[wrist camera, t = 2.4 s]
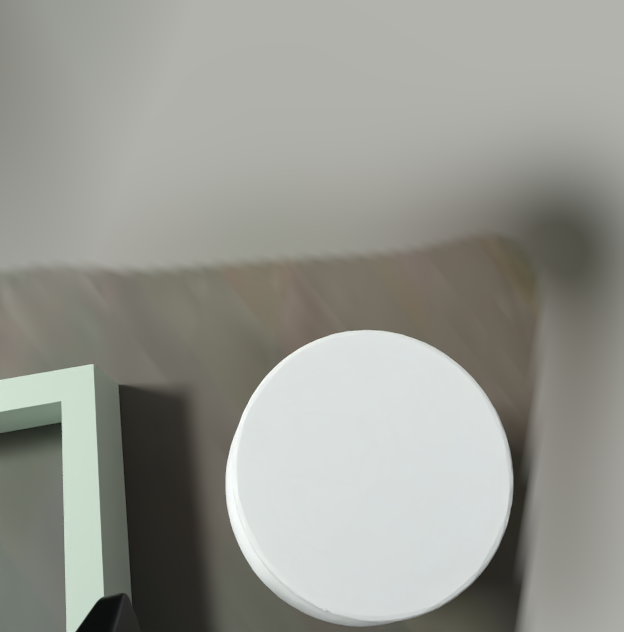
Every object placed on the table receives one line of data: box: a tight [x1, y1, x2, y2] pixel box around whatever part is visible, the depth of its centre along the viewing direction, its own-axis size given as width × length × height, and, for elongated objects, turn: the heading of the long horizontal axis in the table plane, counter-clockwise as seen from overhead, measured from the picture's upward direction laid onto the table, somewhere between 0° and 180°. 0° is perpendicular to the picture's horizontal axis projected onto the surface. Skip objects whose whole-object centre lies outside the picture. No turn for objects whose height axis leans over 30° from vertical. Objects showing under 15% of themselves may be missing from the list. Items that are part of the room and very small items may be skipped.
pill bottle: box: [226, 330, 513, 626], centre depth 14 cm, size 6×6×10 cm
